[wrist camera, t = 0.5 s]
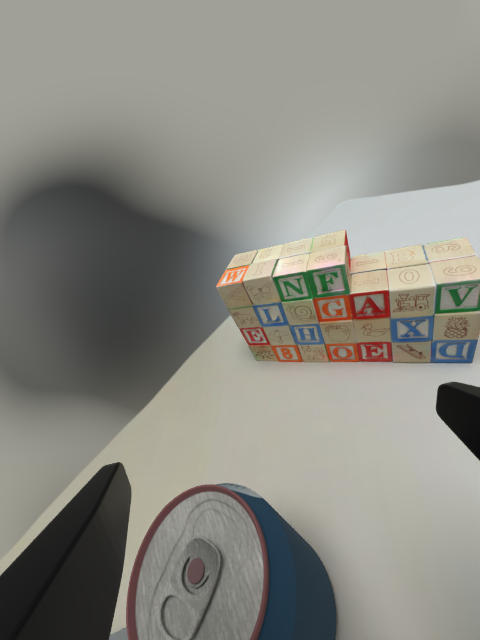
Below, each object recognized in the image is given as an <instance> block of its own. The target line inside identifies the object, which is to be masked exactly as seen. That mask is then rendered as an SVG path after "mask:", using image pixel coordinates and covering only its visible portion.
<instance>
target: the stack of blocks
mask: <svg viewBox="0 0 480 640" xmlns="http://www.w3.org/2000/svg"><path fill="white" fill-rule="evenodd" d="M216 288H217V290H218V291H219V293H220V295H221V297H222V298H223V300H224V302H225V304H226V305H227V307H228V310H229V312H230V314H231V316H232V318H233V319H234V321H235V323H236V325H237V326H238V327H239V329H240V331H241V333H242V335H243V337H244V338H245V340H246V342H247V343H248V345H249V348H250V350H251V352H252V353H253V355H254V357H255V358H256V360H257V361H279V362H332V361H333V362H337V361H338V362H341V361H342V362H359V361H370V362H378V361H381V362H390V361H393V362H418V363H429V362H433V363H472V361H473V357H474V353H475V349H476V345H477V341H478V340H477V339H478V337H479V334H480V259H479V257H478V256H476V254H475V252H474V250H473V248H472V246H471V245H470V243H469V241H468V239H467V238H466V237H463V238H458V239H452V240H447V241H441V242H435V243H429V244H426V245H415V246H410V247H404V248H399V249H393V250H388V251H385V252H383V251H382V252H375V253H370V254H365V255H360V256H355V257H353V258H351V259H350V252H349V247H348V240H347V234H346V230H342V231H338V232H333V233H329V234H325V235H320V236H316V237H314V238H307V239H303V240H299V241H294V242H290V243H287V244H282V245H278V246H274V247H269V248H265V249H261V250H259V251H258V250H254V251H250V252H246V253H241V254H237V255H235V256H234V258H233V259H232V261H231V262H230V264H229V266H228V267H227V270H226V271H225V272H224V274H223V275H222V277H221V279H220V281H219V282H218V284H217V286H216Z"/></svg>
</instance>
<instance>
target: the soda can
mask: <svg viewBox="0 0 480 640" xmlns="http://www.w3.org/2000/svg"><path fill="white" fill-rule="evenodd" d="M126 624H127V635H128V640H335V636H336V607H335V600H334V594H333V590H332V586H331V583H330V580H329V577H328V574H327V572H326V570H325V568H324V566H323V564H322V562H321V560H320V558H319V557H318V555H317V554H316V552H315V551H314V550H313V548H312V547H311V546H310V545H309V544H308V543H307V542H306V541H305V540H304V539H303V538H302V537H301V536H300V535H299V534H298V533H297V532H296V531H295V530H294V529H293V528H292V527H291V526H290V525H289V524H288V523H287V522H286V521H285V520H284V519H283V518H282V517H281V516H280V515H279V514H278V513H277V512H276V511H275V510H274V509H273V508H272V507H271V506H270V505H269V504H268V503H267V502H266V501H265V500H264V499H263V498H262V497H261V496H260V495H258V494H257V493H256V492H254V491H252V490H251V489H249V488H247V487H244V486H241V485H237V484H230V483H224V484H216V485H201V486H197V487H194V488H191V489H189V490H187V491H185V492H183V493H181V494H180V495H178V496H177V497H175V498H174V499H173V500H172V501H171V502H169V503H168V504H167V505H166V506H165V507H164V508H163V510H162V511H161V512H160V513H159V514H158V516H157V517H156V519H155V520H154V522H153V523H152V525H151V526H150V528H149V530H148V532H147V533H146V535H145V537H144V539H143V542H142V544H141V546H140V548H139V551H138V554H137V556H136V559H135V562H134V566H133V569H132V573H131V577H130V582H129V588H128V595H127V607H126Z"/></svg>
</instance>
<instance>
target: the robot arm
mask: <svg viewBox="0 0 480 640" xmlns="http://www.w3.org/2000/svg"><path fill="white" fill-rule="evenodd" d="M436 411H437V414H438V415H439V417H440V418H441V419H442V420H443V421H444V422H445V424H446V425H447V426H448V427H449V428H450V429H451V430H452V431H453V432H454V433H455V434H456V436H457V437H458V438H459V439H460V440H461V441H462V442H463V443H464V444H465V445H466V446H467V447H468V449H469V450H470V451H471V452H472V453H473V454H474V455H475V456H476V457H477V458H478V459H479V460H480V387H476V386H472V385H467V384H463V383H458V382H449V383H445V384H442V385H440V386H439V387H438V391H437V401H436ZM130 504H131V486H130V483H129V480H128V477H127V474H126V472H125V469H124V466H123V464H122V463H120V462H117V463H113V464H109V465H105V466H103V467H102V468H101V469H100V470H99V471H98V472H97V473H96V474H95V475H94V476H93V477H92V479H91V480H90V481H89V482H88V483H87V484H86V485H85V486H84V487H83V488H82V489H81V490H80V491H79V492H78V493H77V495H76V496H75V497H74V498H73V499H72V500H71V501H70V502H69V503H68V504H67V505H66V506H65V507H64V508H63V509H62V511H61V512H60V513H59V514H58V515H57V516H56V517H55V518H54V519H53V520H52V521H51V522H50V523H49V524H48V525H47V526H46V528H45V529H44V530H43V531H42V532H41V533H40V534H39V535H38V536H37V537H36V538H35V539H34V540H33V541H32V542H31V544H30V545H29V546H28V547H27V548H26V549H25V550H24V551H23V552H22V553H21V554H20V555H19V556H18V557H17V558H16V560H15V561H14V562H13V563H12V564H11V565H10V566H9V567H8V568H7V569H6V570H5V571H4V572H3V573H2V574H1V576H0V640H109V637H110V632H111V627H112V622H113V617H114V612H115V607H116V603H117V598H118V593H119V588H120V583H121V577H122V572H123V565H124V558H125V549H126V540H127V531H128V522H129V513H130Z"/></svg>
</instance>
